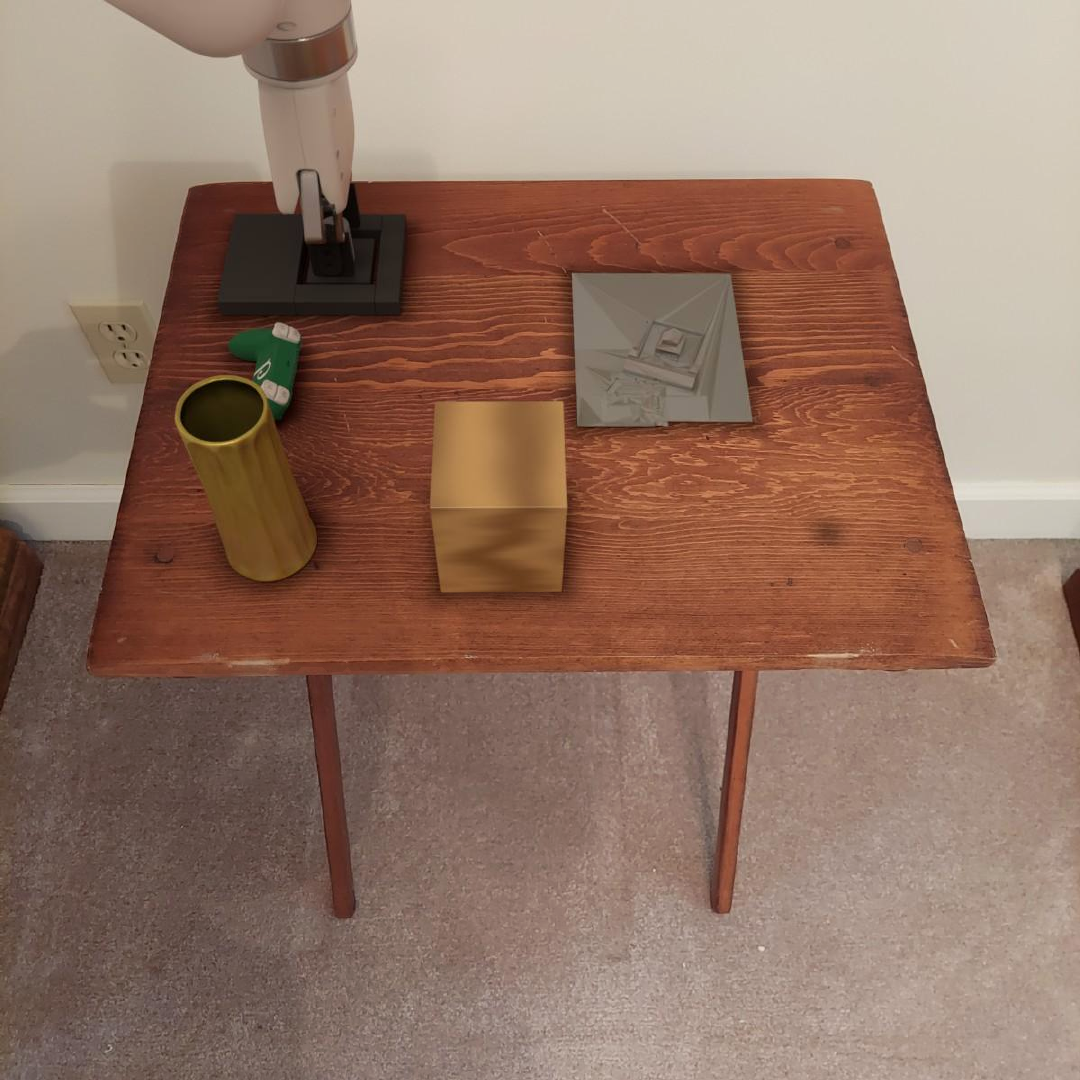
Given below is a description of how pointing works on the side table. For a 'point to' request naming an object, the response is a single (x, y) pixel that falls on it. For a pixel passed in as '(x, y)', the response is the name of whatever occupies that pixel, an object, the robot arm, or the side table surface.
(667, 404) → the grey flat square slab
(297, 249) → the base pad
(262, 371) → the gaming controller
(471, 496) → the stand
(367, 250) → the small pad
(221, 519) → the vase
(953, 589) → the side table surface
